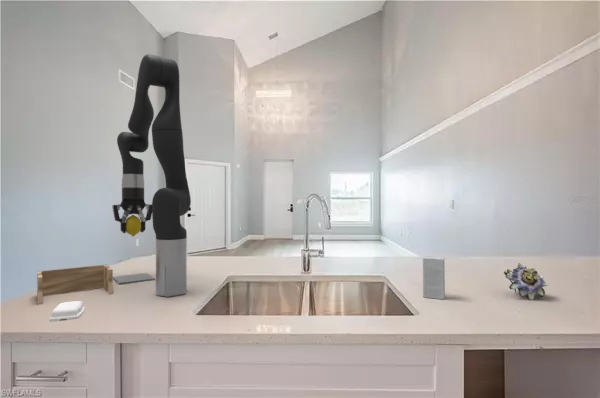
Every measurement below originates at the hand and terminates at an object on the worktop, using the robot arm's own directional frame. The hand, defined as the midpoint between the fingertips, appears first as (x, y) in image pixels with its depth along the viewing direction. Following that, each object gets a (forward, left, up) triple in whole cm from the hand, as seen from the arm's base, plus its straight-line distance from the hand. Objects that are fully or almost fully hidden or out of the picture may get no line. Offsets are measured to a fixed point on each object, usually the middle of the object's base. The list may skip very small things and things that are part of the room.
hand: (133, 232), depth 133 cm
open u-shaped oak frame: (-12, +19, -17) cm, 29 cm away
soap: (-33, +23, -18) cm, 44 cm away
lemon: (0, 0, -2) cm, 2 cm away
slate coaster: (0, 0, -17) cm, 17 cm away
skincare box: (-81, -67, -18) cm, 107 cm away
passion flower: (-97, -90, -18) cm, 134 cm away
